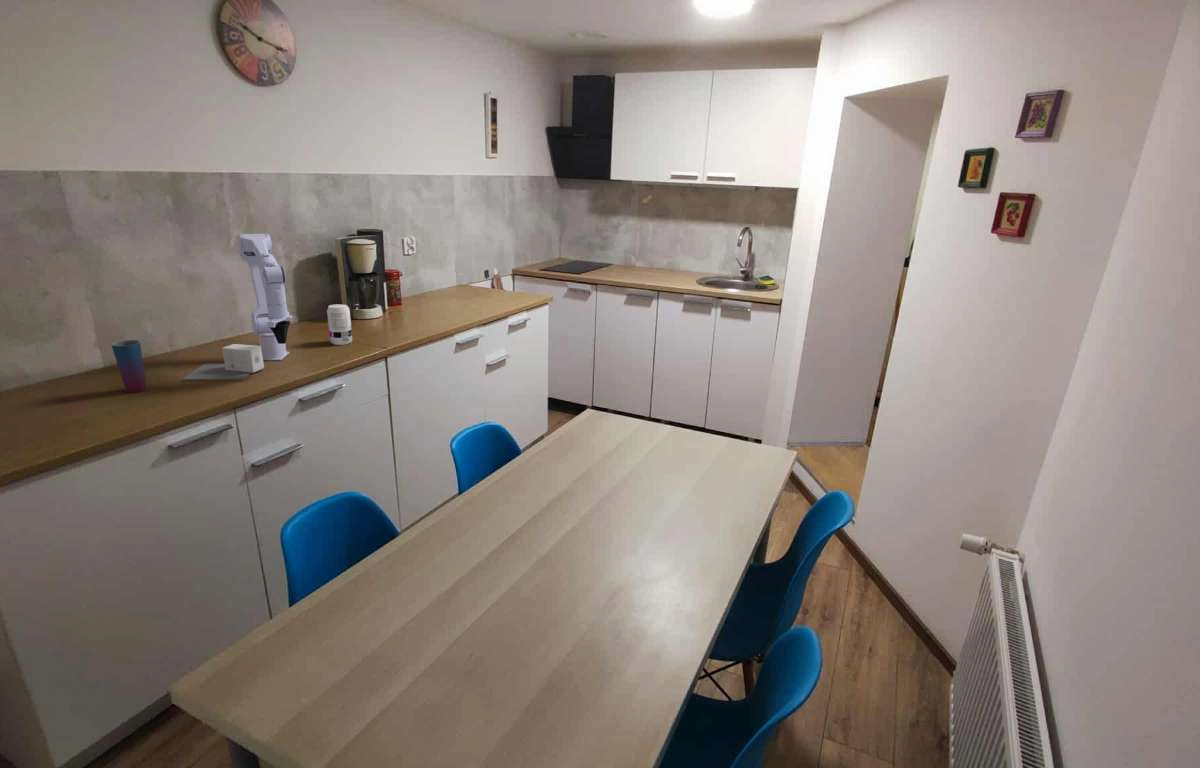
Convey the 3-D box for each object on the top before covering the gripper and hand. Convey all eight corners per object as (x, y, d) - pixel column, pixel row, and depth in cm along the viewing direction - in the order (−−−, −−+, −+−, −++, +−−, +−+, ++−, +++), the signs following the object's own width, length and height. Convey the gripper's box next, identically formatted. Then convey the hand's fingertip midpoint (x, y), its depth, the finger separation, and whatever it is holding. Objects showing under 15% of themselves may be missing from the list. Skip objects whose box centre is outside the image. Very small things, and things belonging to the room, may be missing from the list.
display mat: (204, 365, 204) (204, 363, 204) (261, 365, 207) (260, 363, 207) (181, 380, 189) (181, 379, 189) (242, 380, 192) (242, 378, 192)
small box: (261, 346, 200) (233, 342, 201) (250, 350, 195) (221, 347, 196) (264, 368, 203) (237, 365, 204) (253, 373, 197) (224, 370, 199)
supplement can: (325, 343, 235) (321, 306, 230) (341, 338, 242) (338, 302, 237) (341, 346, 232) (337, 309, 227) (357, 341, 240) (353, 305, 234)
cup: (128, 395, 176) (117, 347, 171) (118, 390, 179) (106, 343, 174) (154, 389, 181) (144, 342, 176) (144, 384, 185) (133, 338, 180)
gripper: (281, 308, 187) (287, 349, 192) (296, 298, 201) (301, 337, 205) (257, 308, 186) (264, 349, 191) (274, 298, 199) (280, 337, 204)
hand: (282, 343), depth 198 cm, fingers closed
